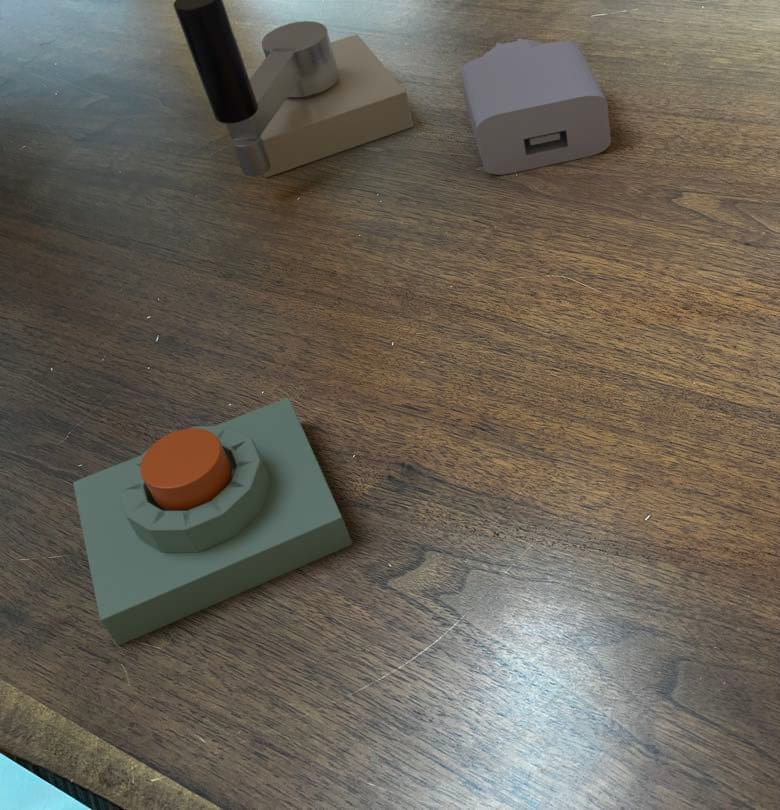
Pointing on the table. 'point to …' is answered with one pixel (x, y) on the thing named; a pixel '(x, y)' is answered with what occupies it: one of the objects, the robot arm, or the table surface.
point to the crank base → (337, 111)
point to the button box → (208, 527)
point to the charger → (534, 106)
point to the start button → (186, 469)
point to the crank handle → (271, 83)
